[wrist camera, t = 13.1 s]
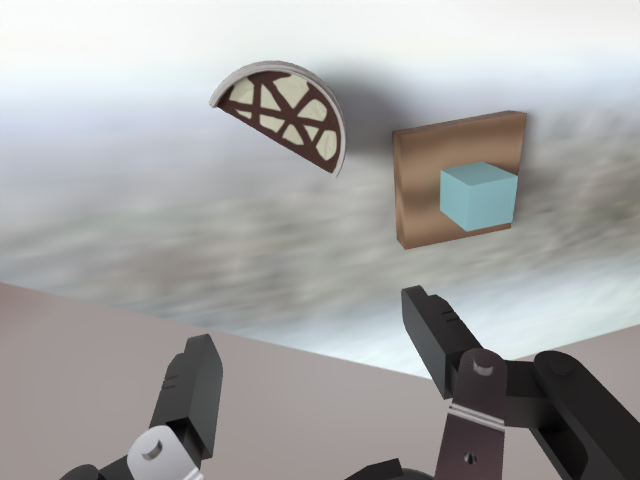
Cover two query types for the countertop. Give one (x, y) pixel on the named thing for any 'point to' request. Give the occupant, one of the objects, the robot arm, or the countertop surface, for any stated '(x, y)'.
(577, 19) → the countertop surface
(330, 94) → the food container
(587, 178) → the countertop surface
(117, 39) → the countertop surface
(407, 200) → the walnut base
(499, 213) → the teal block
